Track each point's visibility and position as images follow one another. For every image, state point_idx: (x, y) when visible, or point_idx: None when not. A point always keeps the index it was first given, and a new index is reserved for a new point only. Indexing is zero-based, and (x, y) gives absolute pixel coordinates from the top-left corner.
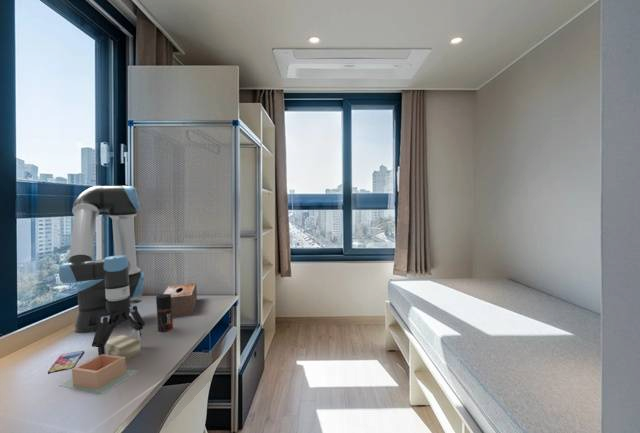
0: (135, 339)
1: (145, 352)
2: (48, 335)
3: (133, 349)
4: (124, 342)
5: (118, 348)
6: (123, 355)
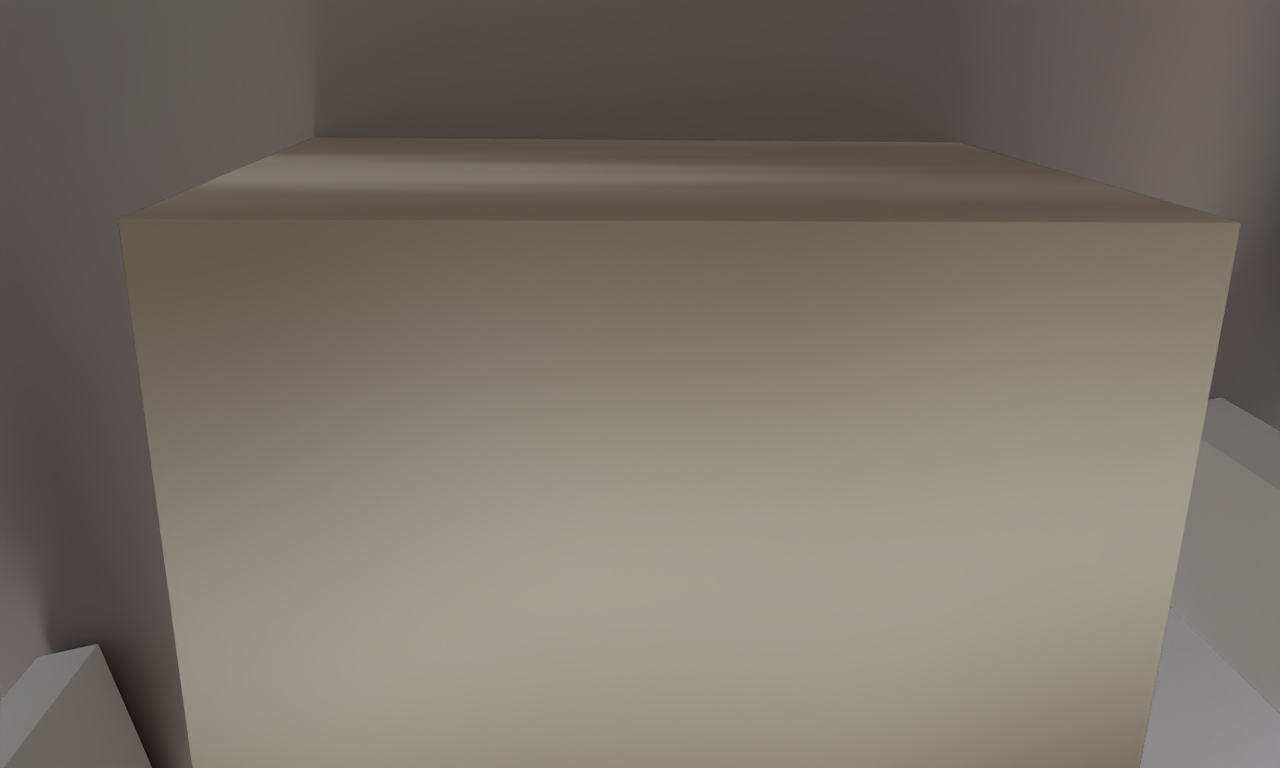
0: (202, 568)
1: (146, 112)
2: None
3: (546, 174)
4: (695, 712)
5: (1180, 389)
6: (949, 168)
